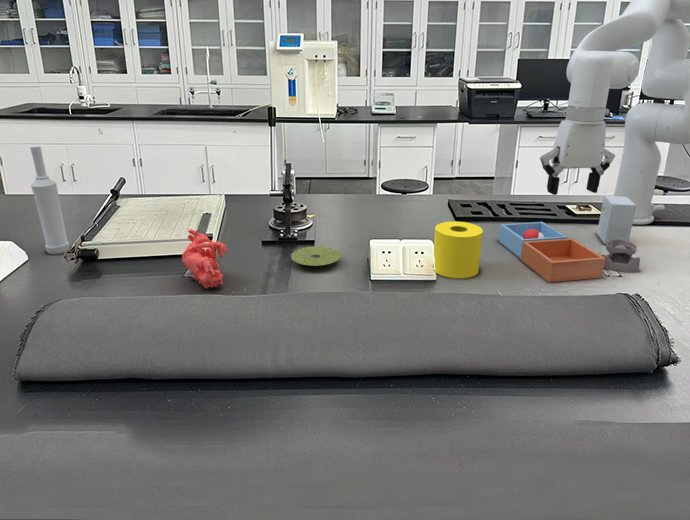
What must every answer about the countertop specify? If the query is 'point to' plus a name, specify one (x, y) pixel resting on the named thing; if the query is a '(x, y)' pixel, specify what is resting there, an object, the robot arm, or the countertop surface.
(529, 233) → the molecule
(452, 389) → the countertop surface
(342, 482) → the countertop surface
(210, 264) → the anatomical heart
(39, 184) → the bottle
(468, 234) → the tape roll
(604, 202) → the small box
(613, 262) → the dental mold
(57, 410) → the countertop surface
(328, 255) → the green sanding disc
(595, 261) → the bin
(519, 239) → the blue bin
